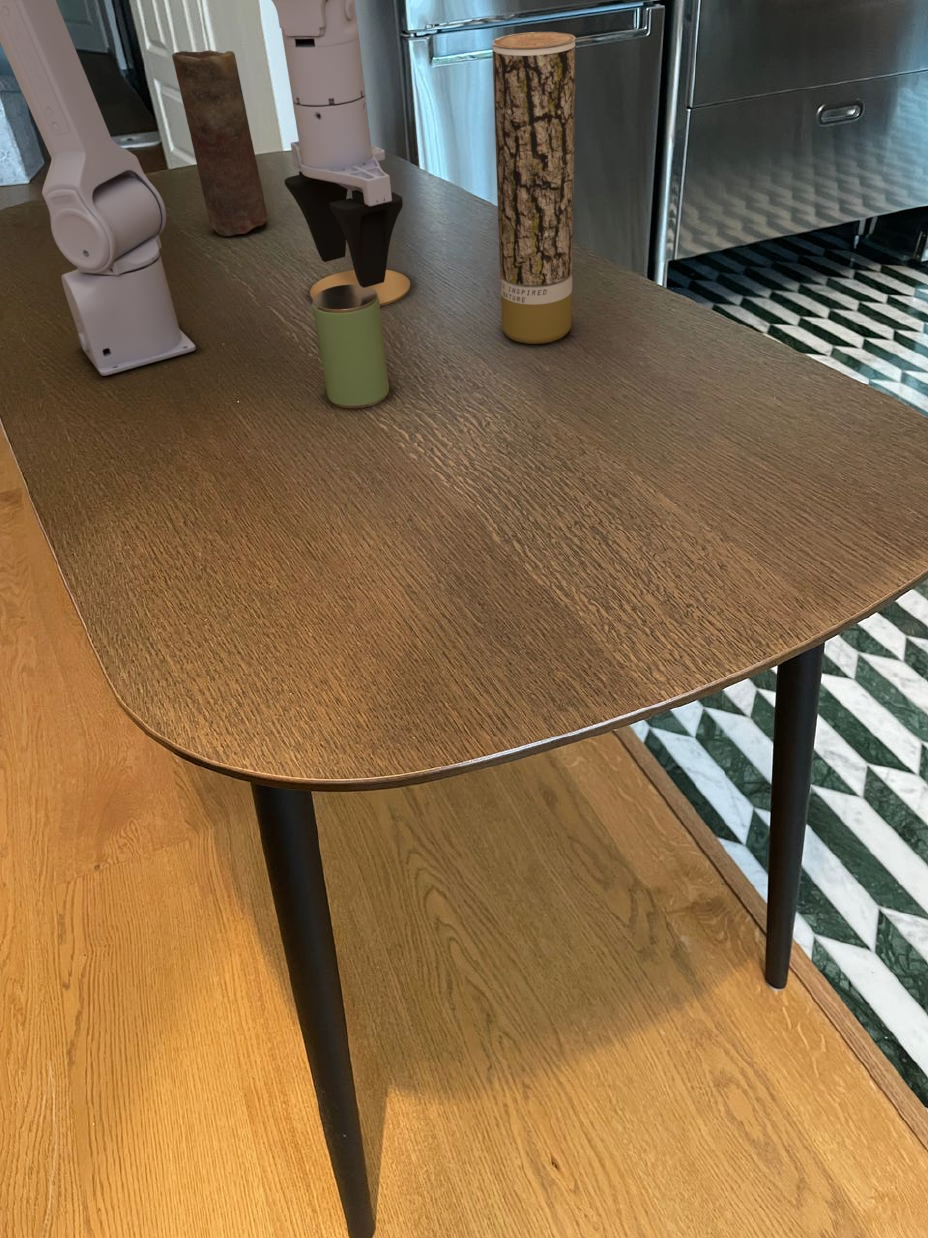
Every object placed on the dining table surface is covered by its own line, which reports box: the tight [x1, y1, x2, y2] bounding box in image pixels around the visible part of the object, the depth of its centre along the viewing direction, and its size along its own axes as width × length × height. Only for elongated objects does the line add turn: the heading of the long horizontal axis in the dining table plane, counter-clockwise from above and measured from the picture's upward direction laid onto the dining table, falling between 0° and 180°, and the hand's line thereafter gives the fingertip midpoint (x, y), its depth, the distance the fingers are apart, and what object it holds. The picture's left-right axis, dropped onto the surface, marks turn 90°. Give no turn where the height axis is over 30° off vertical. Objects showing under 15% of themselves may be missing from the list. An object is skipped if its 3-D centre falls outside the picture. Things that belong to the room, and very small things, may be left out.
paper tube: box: [491, 31, 577, 345], centre depth 87 cm, size 7×7×25 cm
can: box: [312, 284, 390, 410], centre depth 84 cm, size 6×6×9 cm
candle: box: [171, 49, 268, 237], centre depth 118 cm, size 8×7×20 cm
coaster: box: [309, 269, 411, 307], centre depth 106 cm, size 11×11×1 cm
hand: (352, 270), depth 84 cm, fingers open, 7 cm apart
